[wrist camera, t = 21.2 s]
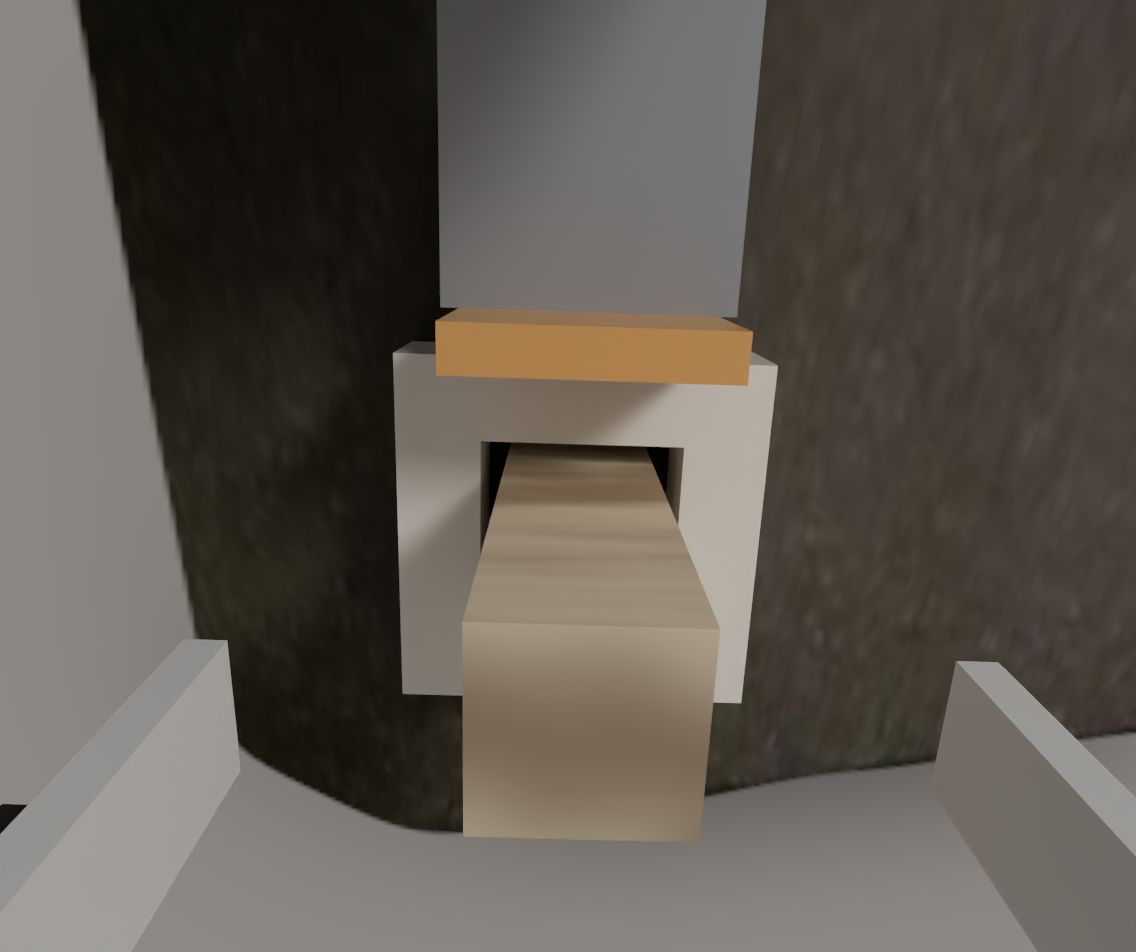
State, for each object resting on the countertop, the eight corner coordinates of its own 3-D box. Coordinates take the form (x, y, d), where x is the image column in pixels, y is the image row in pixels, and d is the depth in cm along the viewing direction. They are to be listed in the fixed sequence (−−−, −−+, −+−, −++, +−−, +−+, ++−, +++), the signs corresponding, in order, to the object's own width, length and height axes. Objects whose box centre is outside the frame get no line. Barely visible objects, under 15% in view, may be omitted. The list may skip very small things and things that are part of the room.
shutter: (444, 348, 22) (413, 374, 17) (441, -22, 19) (403, -106, 15) (727, 357, 22) (769, 386, 18) (760, -10, 20) (820, -89, 15)
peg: (511, 442, 26) (462, 621, 14) (645, 446, 26) (720, 628, 14) (509, 567, 27) (463, 836, 15) (637, 571, 27) (699, 842, 15)
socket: (419, 648, 28) (402, 693, 25) (412, 340, 25) (392, 352, 22) (722, 656, 28) (741, 703, 25) (753, 352, 25) (777, 366, 22)
